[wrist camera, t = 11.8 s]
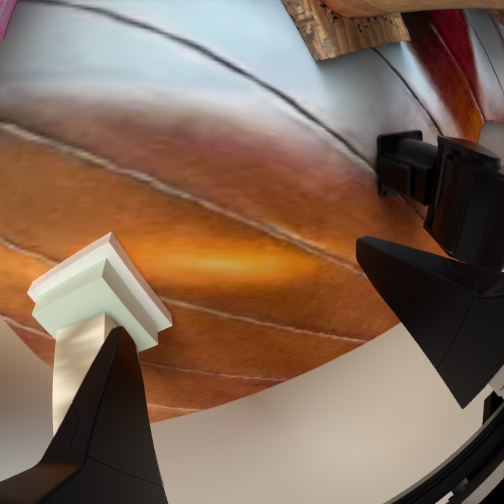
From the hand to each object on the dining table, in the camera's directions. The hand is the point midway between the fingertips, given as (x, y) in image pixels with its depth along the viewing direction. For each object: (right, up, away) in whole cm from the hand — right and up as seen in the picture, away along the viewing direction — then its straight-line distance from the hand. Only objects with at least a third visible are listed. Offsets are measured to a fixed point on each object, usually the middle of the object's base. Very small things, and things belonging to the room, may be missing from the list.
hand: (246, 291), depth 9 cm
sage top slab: (-13, -4, +11) cm, 18 cm away
